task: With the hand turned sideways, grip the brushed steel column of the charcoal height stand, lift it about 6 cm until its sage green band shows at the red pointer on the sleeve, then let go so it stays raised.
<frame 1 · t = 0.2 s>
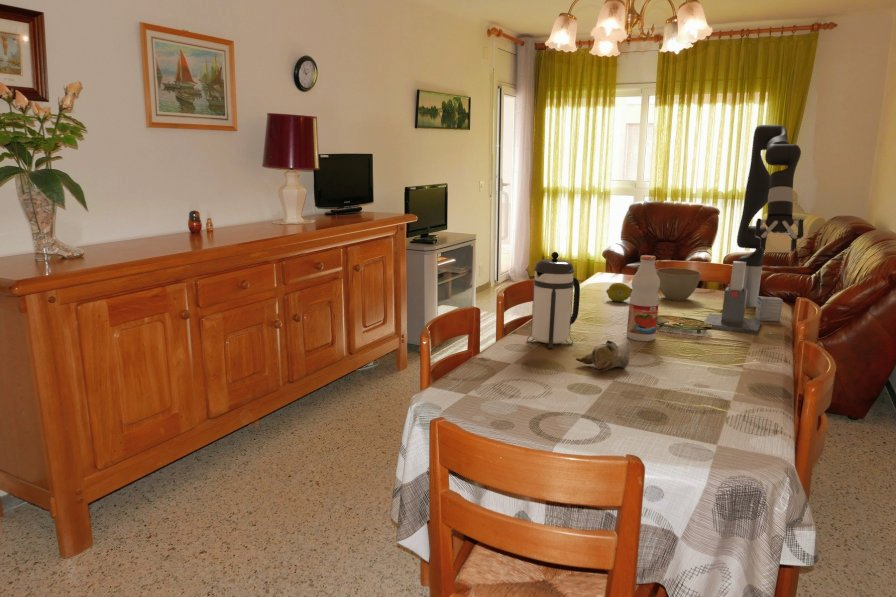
hand: (777, 250, 215), 31 cm above the table, fingers open, 8 cm apart
lemon: (618, 302, 275), on the table
column: (736, 291, 237), point 13 cm above the table, slide at 0.0 cm
fruit juice: (640, 338, 220), on the table
ceramic sculpture: (605, 369, 188), on the table
stand: (731, 325, 240), on the table
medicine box: (767, 320, 249), on the table
coffee press: (551, 343, 213), on the table
beige bowl: (675, 299, 283), on the table
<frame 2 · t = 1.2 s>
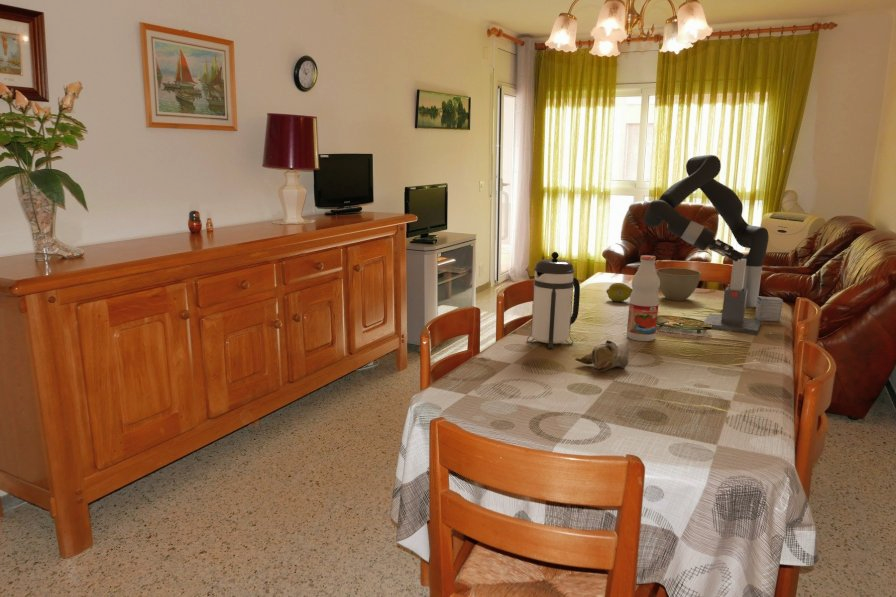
hand: (740, 258, 228), 26 cm above the table, fingers open, 7 cm apart
column: (736, 288, 237), point 14 cm above the table, slide at 1.1 cm, touching gripper
everything else where it was.
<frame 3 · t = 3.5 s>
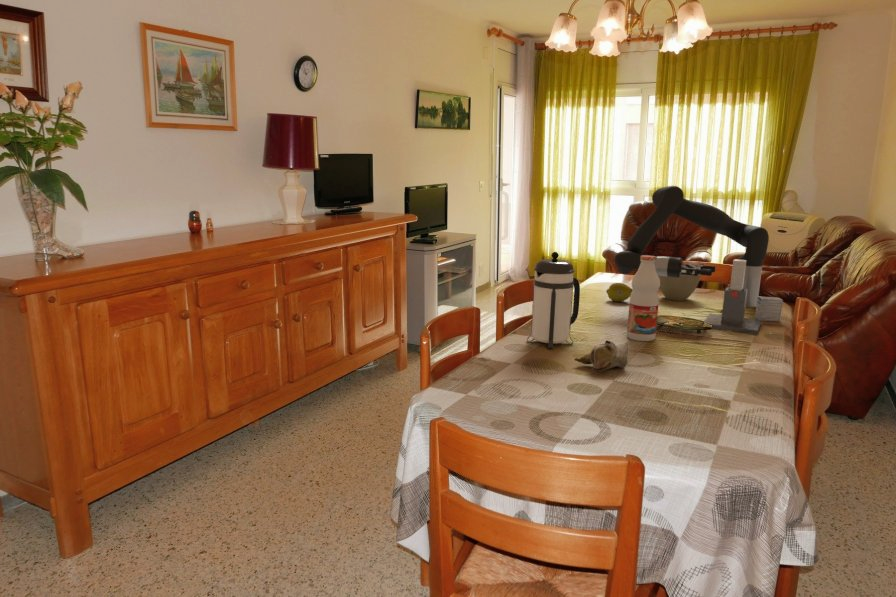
hand: (713, 271, 240), 19 cm above the table, fingers open, 8 cm apart
column: (736, 289, 237), point 13 cm above the table, slide at 0.7 cm
everything else where it was.
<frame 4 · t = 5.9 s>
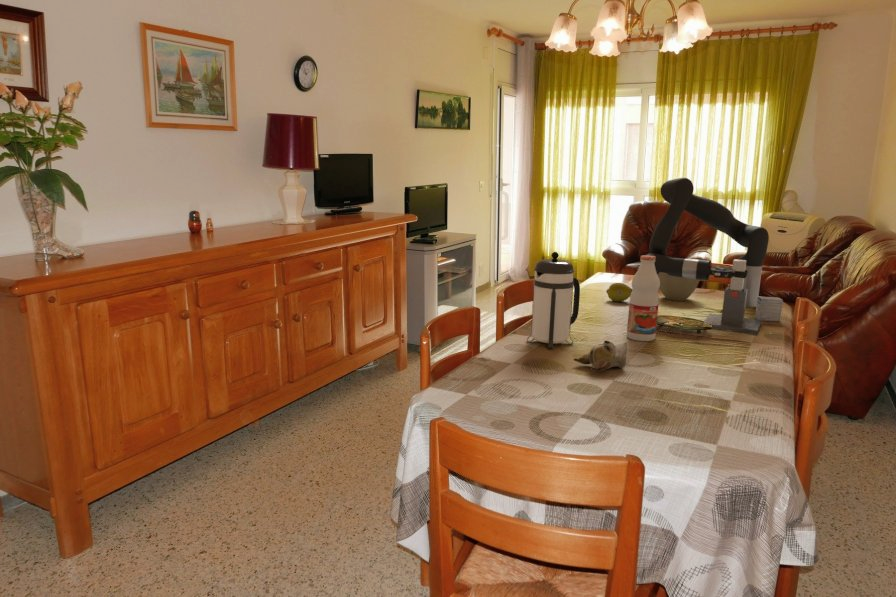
hand: (746, 274, 234), 19 cm above the table, fingers closed on column, 4 cm apart
column: (736, 290, 237), point 13 cm above the table, slide at 0.6 cm, touching gripper
everything else where it was.
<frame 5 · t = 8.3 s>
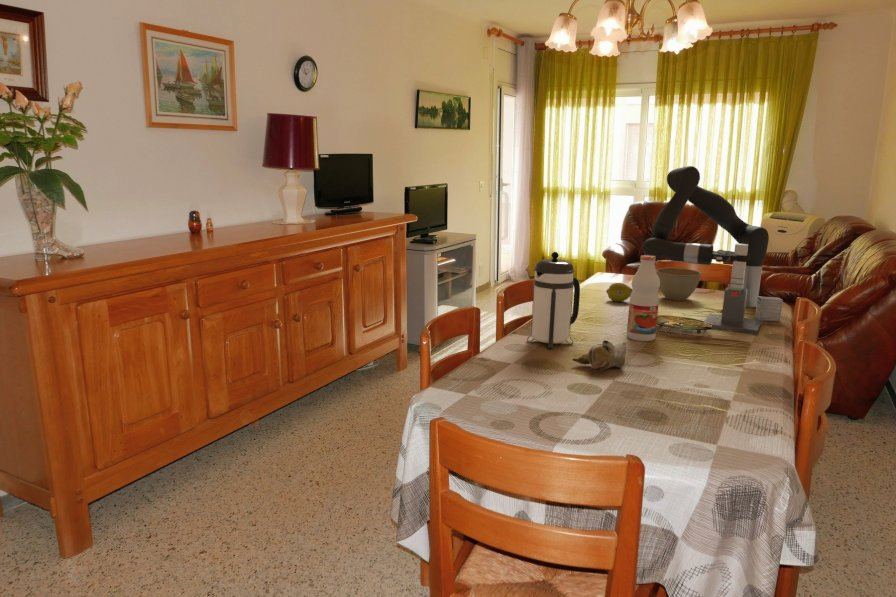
hand: (748, 258, 233), 25 cm above the table, fingers closed on column, 4 cm apart
column: (738, 274, 236), point 19 cm above the table, slide at 6.4 cm, touching gripper
everything else where it was.
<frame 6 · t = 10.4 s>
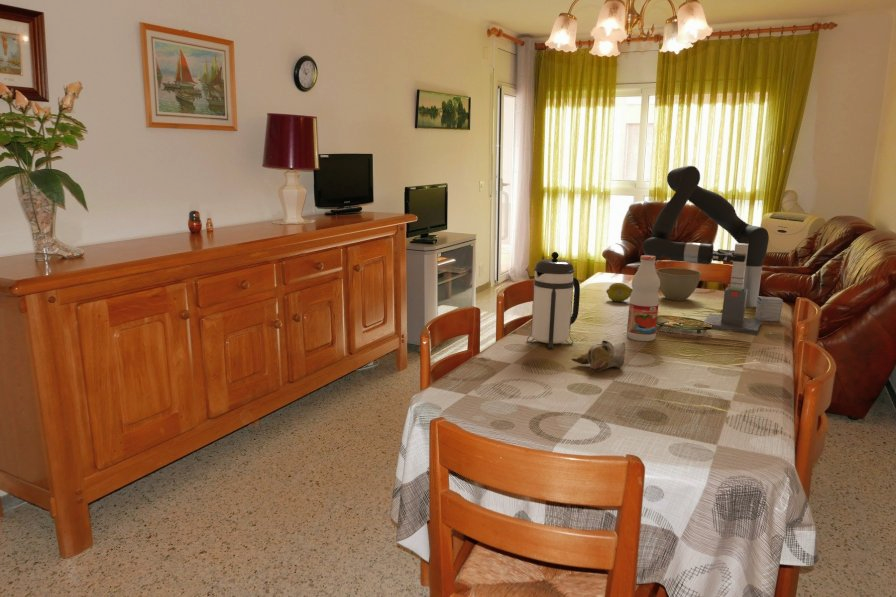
hand: (746, 257, 233), 25 cm above the table, fingers open, 8 cm apart
column: (738, 273, 236), point 19 cm above the table, slide at 6.6 cm
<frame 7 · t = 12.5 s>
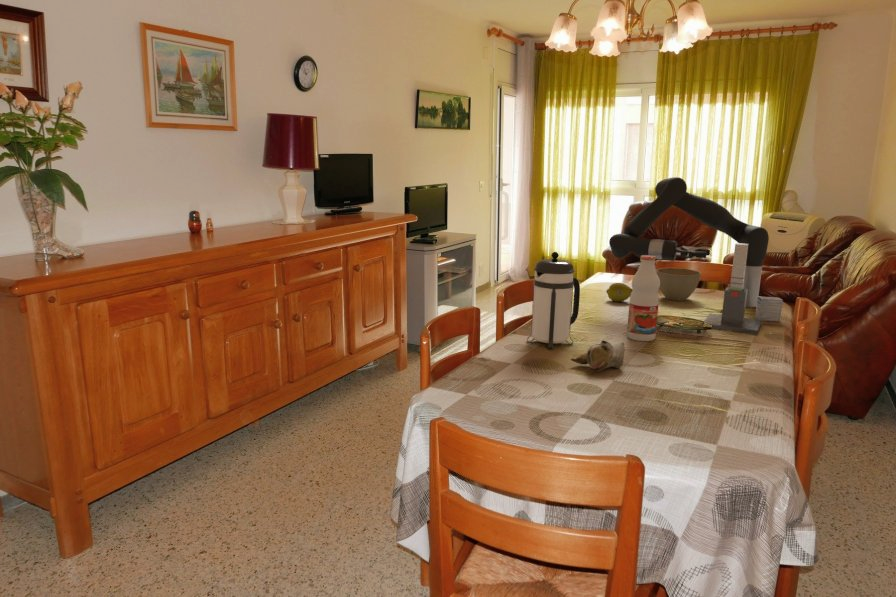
hand: (708, 253, 240), 26 cm above the table, fingers open, 8 cm apart
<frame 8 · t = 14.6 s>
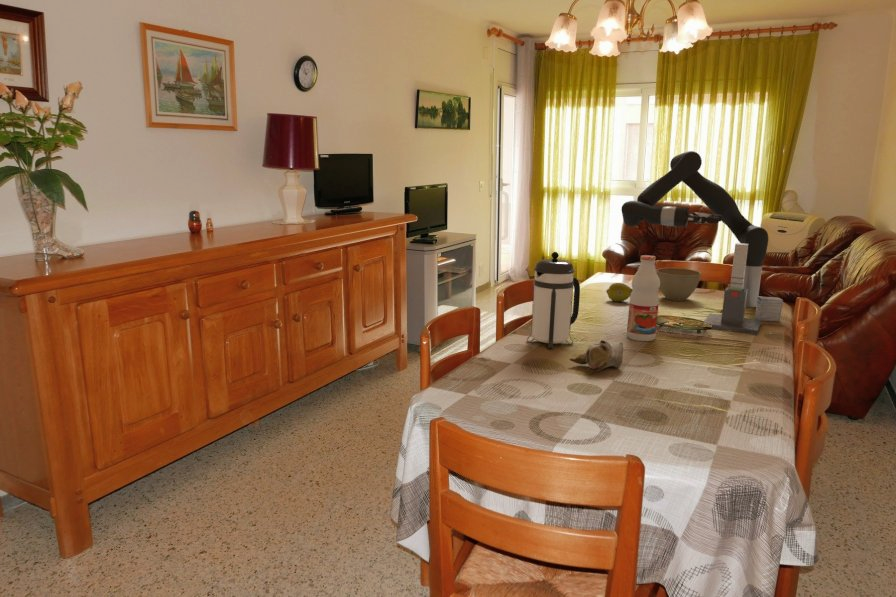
hand: (720, 219, 241), 38 cm above the table, fingers open, 8 cm apart
at the end: column slide at 6.6 cm; the gripper is holding nothing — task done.
